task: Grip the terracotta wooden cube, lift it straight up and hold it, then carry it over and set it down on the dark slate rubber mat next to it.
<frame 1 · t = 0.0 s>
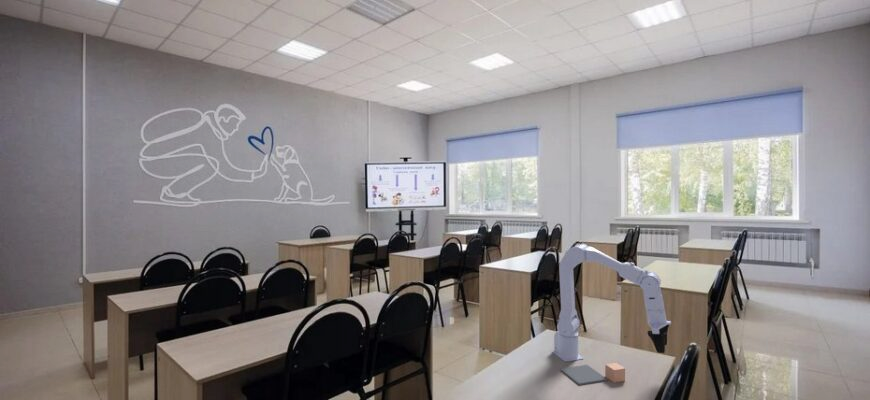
hand: (662, 348, 137), 10 cm above the table, tool pointing down, fingers open, 7 cm apart
cube: (615, 378, 137), on the table
mat: (583, 375, 140), on the table
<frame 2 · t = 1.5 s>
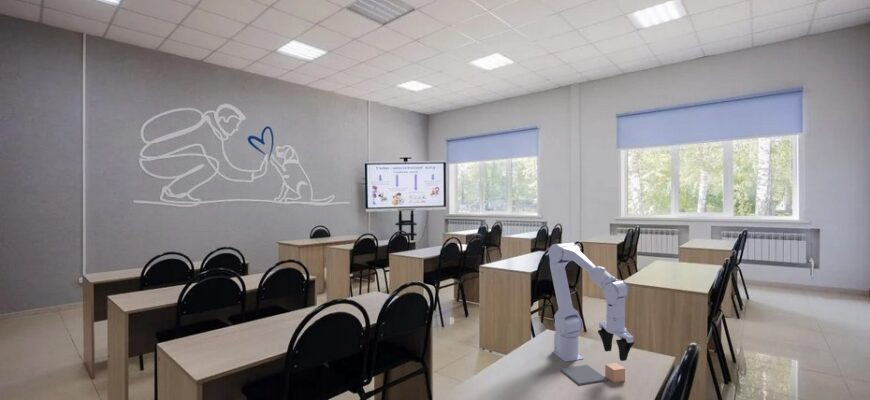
hand: (615, 355, 137), 8 cm above the table, tool pointing down, fingers open, 7 cm apart
nothing on the table moved.
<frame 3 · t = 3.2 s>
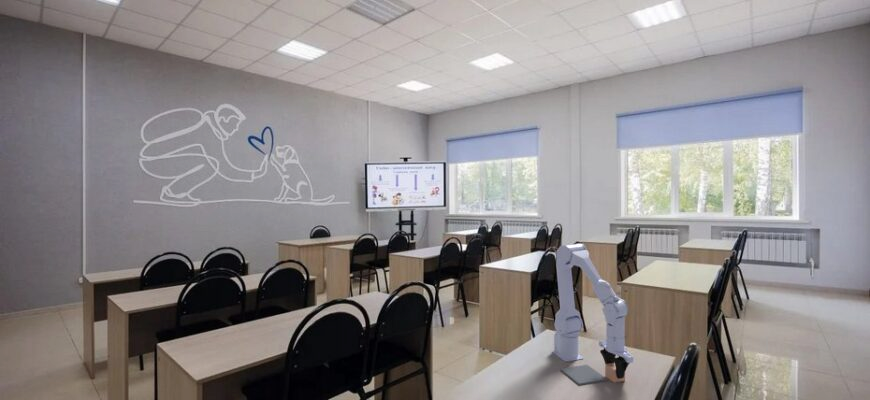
hand: (615, 374, 137), 1 cm above the table, tool pointing down, fingers closed on cube, 4 cm apart
cube: (615, 378, 137), on the table, touching gripper
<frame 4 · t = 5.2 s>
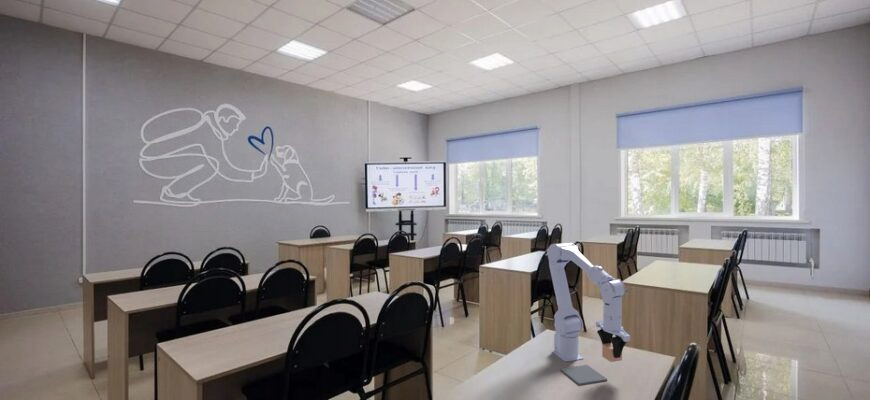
hand: (612, 354, 137), 8 cm above the table, tool pointing down, fingers closed on cube, 4 cm apart
cube: (612, 358, 137), point 7 cm above the table, touching gripper
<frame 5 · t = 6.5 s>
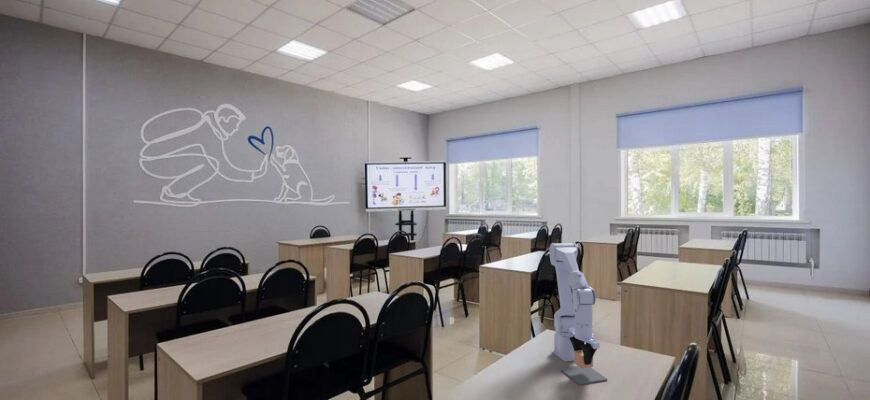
hand: (583, 361, 139), 5 cm above the table, tool pointing down, fingers closed on cube, 4 cm apart
cube: (583, 365, 139), point 4 cm above the table, touching gripper
when the fingers open (3 cm above the table, at t = 7.6 s): cube drops 1 cm, resting on mat.
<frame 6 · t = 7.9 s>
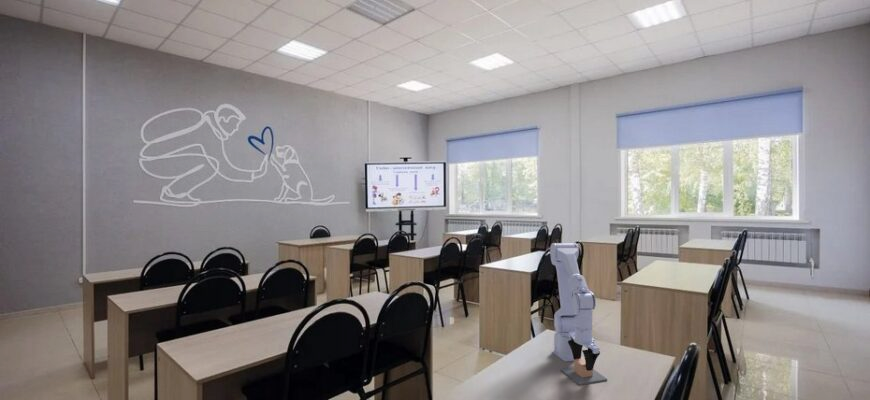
hand: (583, 365, 140), 4 cm above the table, tool pointing down, fingers open, 6 cm apart
cube: (583, 373, 140), point 1 cm above the table, touching mat
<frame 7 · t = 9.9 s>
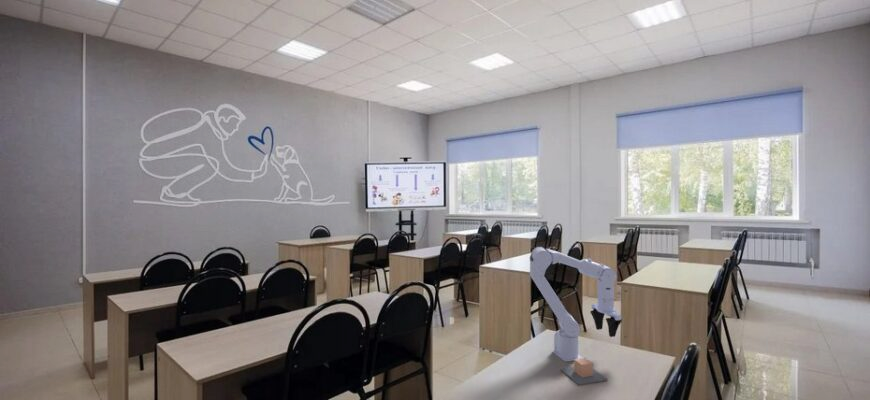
hand: (605, 332, 154), 9 cm above the table, tool pointing down, fingers open, 7 cm apart
nothing on the table moved.
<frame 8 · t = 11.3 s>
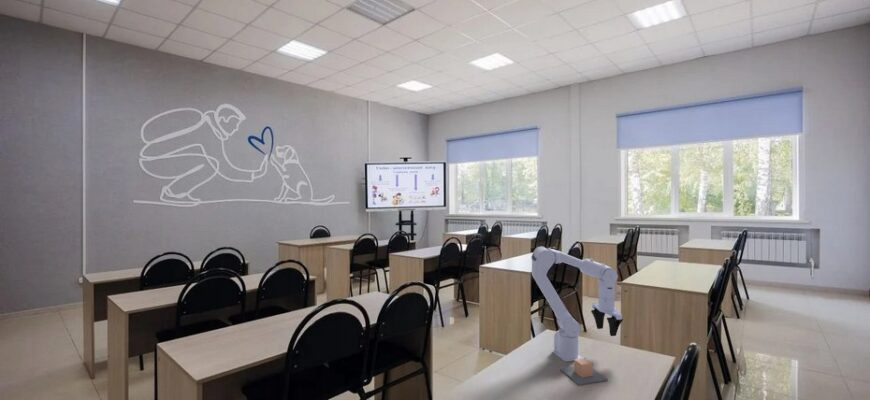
hand: (606, 332, 154), 9 cm above the table, tool pointing down, fingers open, 7 cm apart
nothing on the table moved.
at the end: cube 0.0 cm off-centre on the mat, point 0.6 cm above the mat's base; cube tilted 0°; the gripper is holding nothing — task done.
